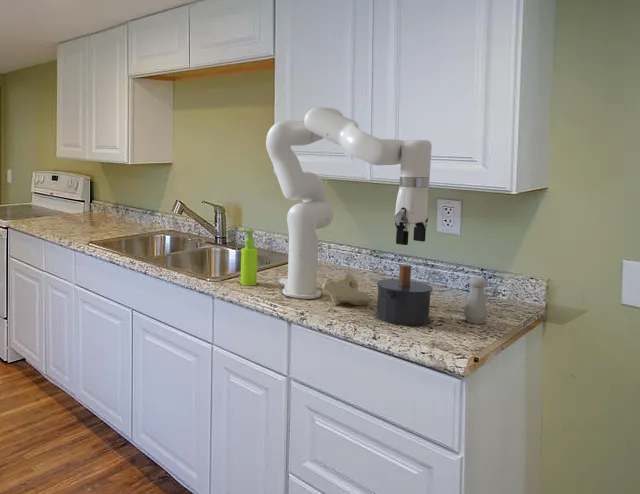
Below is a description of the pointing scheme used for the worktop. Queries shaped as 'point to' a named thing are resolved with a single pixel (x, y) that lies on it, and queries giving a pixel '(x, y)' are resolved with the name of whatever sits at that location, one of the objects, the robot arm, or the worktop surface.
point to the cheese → (345, 291)
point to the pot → (403, 307)
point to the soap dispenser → (249, 261)
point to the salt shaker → (476, 301)
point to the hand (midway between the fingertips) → (410, 242)
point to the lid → (404, 283)
